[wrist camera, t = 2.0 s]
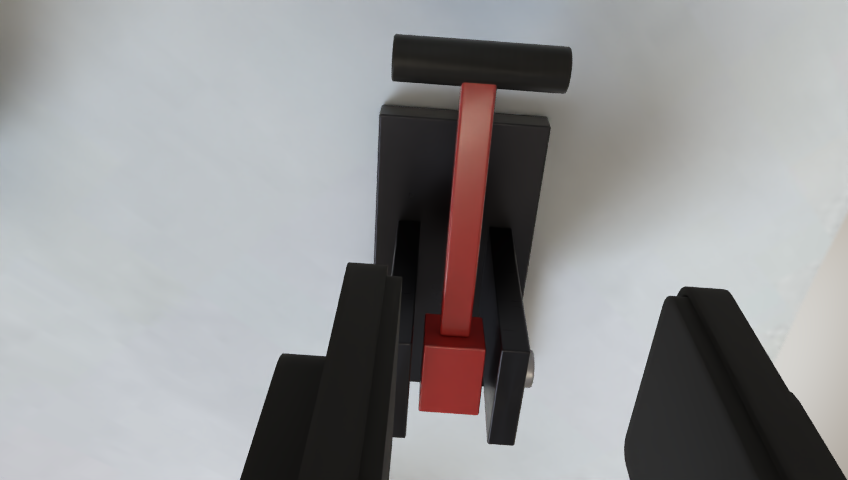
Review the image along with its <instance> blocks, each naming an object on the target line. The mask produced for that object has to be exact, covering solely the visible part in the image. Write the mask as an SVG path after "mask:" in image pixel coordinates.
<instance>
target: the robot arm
mask: <svg viewBox="0 0 848 480" xmlns="http://www.w3.org/2000/svg"><path fill="white" fill-rule="evenodd" d="M401 293H402V277H398V276H388V265H377V264H364V263H350V262H349V263H348V264H347V267H346V272H345V276H344V280H343V285H342V289H341V293H340V298H339V302H338V307H337V311H336V315H335V320H334V324H333V328H332V333H331V337H330V341H329V346H328V350H327V355H326V356H311V355H297V354H282V355H281V356H280V357H279V360H278V362H277V365H276V368H275V371H274V374H273V377H272V380H271V384H270V387H269V390H268V393H267V396H266V399H265V403H264V406H263V409H262V412H261V415H260V418H259V422H258V425H257V428H256V431H255V434H254V437H253V440H252V444H251V447H250V450H249V453H248V456H247V459H246V463H245V466H244V469H243V472H242V475H241V478H240V480H389V471H390V460H391V449H392V437H393V424H394V408H395V391H396V375H397V358H398V342H399V326H400V309H401ZM624 455H625V462H626V467H627V470H628V474H629V478H630V480H847V479H846V478H845V476H844V474H843V473H842V471H841V469H840V468H839V466H838V464H837V463H836V461H835V459H834V458H833V456H832V454H831V453H830V451H829V450H828V448H827V446H826V444H825V443H824V441H823V440H822V438H821V436H820V435H819V433H818V431H817V430H816V428H815V426H814V425H813V423H812V421H811V420H810V418H809V417H808V415H807V413H806V411H805V410H804V408H803V406H802V405H801V403H800V402H799V400H798V399H797V398H796V397H795V395H794V394H793V393H792V392H790V391H789V390H788V388H787V386H786V385H785V383H784V381H783V380H782V378H781V376H780V375H779V373H778V371H777V370H776V368H775V367H774V365H773V363H772V361H771V360H770V358H769V356H768V355H767V353H766V351H765V350H764V348H763V346H762V345H761V343H760V341H759V340H758V338H757V336H756V335H755V333H754V331H753V330H752V328H751V326H750V325H749V323H748V321H747V320H746V318H745V316H744V315H743V313H742V311H741V310H740V308H739V306H738V305H737V303H736V301H735V300H734V298H733V296H732V295H731V294H730V292H729V291H728V290H724V289H713V288H699V287H683V288H682V289H681V290H680V291H679V293H678V295H677V296H668V297H667V298H666V299H665V301H664V304H663V306H662V310H661V314H660V317H659V321H658V324H657V328H656V331H655V335H654V338H653V342H652V345H651V349H650V352H649V356H648V360H647V363H646V367H645V370H644V374H643V377H642V381H641V384H640V388H639V391H638V395H637V398H636V402H635V406H634V409H633V413H632V416H631V420H630V423H629V427H628V430H627V434H626V438H625V446H624Z"/></svg>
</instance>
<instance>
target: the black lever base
mask: <svg viewBox="0 0 848 480" xmlns="http://www.w3.org/2000/svg"><path fill="white" fill-rule="evenodd" d="M457 120H458V111H457V110H443V109H429V108H416V107H402V106H388V105H382V107H381V111H380V115H379V139H378V166H377V193H376V220H375V247H374V264H377V265H388V276H398V277H402V293H401V309H400V326H399V342H398V358H397V375H396V391H395V408H394V424H393V437H397V438H405V436H406V425H407V412H408V398H409V384H410V381H413V382H420V371H421V358H422V346H423V333H424V320H425V314H440V312H441V301H442V290H443V278H444V267H445V256H446V245H447V233H448V222H449V211H450V199H451V188H452V177H453V165H454V154H455V143H456V131H457ZM550 129H551V127H550V124H549V121H548V118H547V117H538V116H525V115H511V114H498V113H494V118H493V127H492V137H491V146H490V155H489V164H488V174H487V183H486V192H485V202H484V211H483V220H482V229H481V239H480V248H479V257H478V267H477V276H476V285H475V294H474V304H473V313H472V317H481V318H482V319H483V327H484V336H485V345H486V356H485V364H484V373H483V381H482V386H484V398H485V414H486V430H487V442H488V444H498V445H512V446H513V445H514V443H515V438H516V432H517V426H518V421H519V415H520V409H521V404H522V398H523V393H524V388H530V387H531V386H532V383H533V378H534V354H533V351H532V350H530V345H529V339H528V332H527V326H526V320H525V313H524V307H523V295H524V288H525V282H526V276H527V270H528V264H529V258H530V252H531V246H532V239H533V233H534V227H535V221H536V215H537V209H538V203H539V197H540V190H541V184H542V178H543V172H544V166H545V160H546V154H547V148H548V141H549V135H550Z"/></svg>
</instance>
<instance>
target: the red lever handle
mask: <svg viewBox="0 0 848 480" xmlns="http://www.w3.org/2000/svg"><path fill="white" fill-rule="evenodd" d="M571 72H572V50H571V48H570V47H564V46H551V45H537V44H524V43H510V42H497V41H483V40H470V39H456V38H443V37H429V36H416V35H402V34H395V36H394V41H393V52H392V81H397V82H411V83H425V84H438V85H452V86H460V97H459V109H458V120H457V131H456V143H455V154H454V165H453V177H452V188H451V199H450V211H449V222H448V233H447V245H446V256H445V267H444V278H443V290H442V301H441V312H440V314H425V320H424V333H423V346H422V358H421V371H420V390H419V411H426V412H440V413H454V414H468V415H478V414H479V406H480V398H481V389H482V381H483V373H484V364H485V356H486V345H485V336H484V327H483V319H482V318H481V317H472V313H473V304H474V294H475V285H476V276H477V267H478V257H479V248H480V239H481V229H482V220H483V211H484V202H485V192H486V183H487V174H488V164H489V155H490V146H491V137H492V127H493V118H494V109H495V99H496V90H497V89H506V90H520V91H533V92H547V93H561V94H564V93H566V91H567V89H568V87H569V83H570V78H571Z"/></svg>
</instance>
